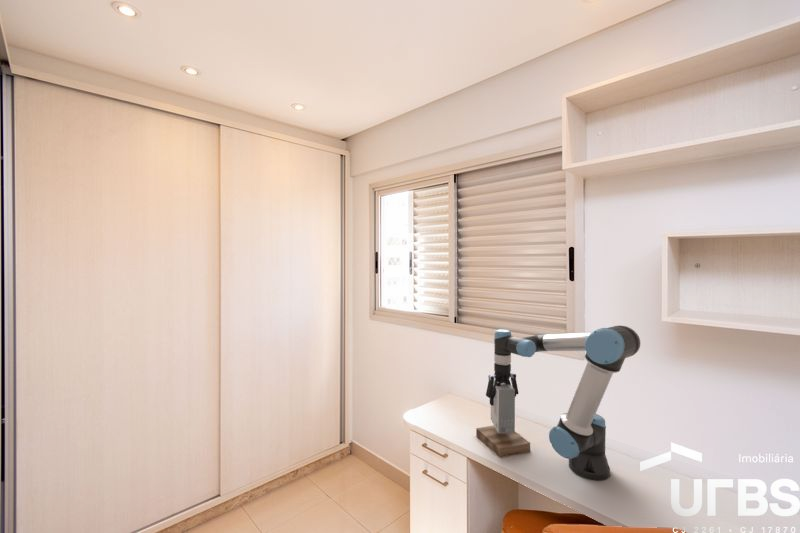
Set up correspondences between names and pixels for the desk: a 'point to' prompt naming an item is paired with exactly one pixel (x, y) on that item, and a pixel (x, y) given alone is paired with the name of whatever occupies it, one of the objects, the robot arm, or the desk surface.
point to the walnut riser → (502, 441)
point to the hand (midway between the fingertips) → (502, 410)
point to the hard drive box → (504, 409)
